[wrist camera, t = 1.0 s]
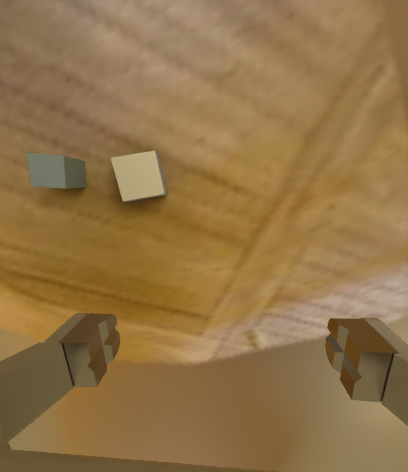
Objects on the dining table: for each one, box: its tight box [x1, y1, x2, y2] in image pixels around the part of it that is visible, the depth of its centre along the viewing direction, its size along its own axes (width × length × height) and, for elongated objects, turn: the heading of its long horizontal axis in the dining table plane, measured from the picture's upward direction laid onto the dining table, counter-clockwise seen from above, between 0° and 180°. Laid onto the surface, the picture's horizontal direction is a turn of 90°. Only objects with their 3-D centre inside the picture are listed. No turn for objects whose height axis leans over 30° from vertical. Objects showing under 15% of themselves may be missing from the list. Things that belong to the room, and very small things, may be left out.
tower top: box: [111, 151, 165, 202], centre depth 37 cm, size 7×7×5 cm
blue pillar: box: [27, 153, 86, 189], centre depth 37 cm, size 5×5×9 cm
